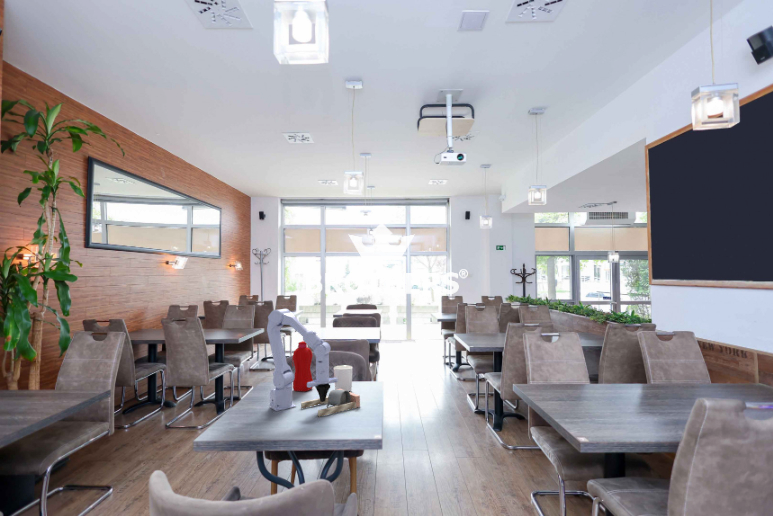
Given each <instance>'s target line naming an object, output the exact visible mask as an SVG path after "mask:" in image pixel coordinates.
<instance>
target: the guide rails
mask: <svg viewBox="0 0 773 516" xmlns="http://www.w3.org/2000/svg"><path fill="white" fill-rule="evenodd" d="M327 402H328V396H326V400H325V402H321V401H320V397H319V398H315V399H311V400H306V401H305V400H304V401H302V402H300V408H301V409H302V408H303V409H306V407H308V408H311V407H310V406H312V407H315V406H314V405H316V406H319V405H318V404H321V405H324V404H323V403H325V404H327ZM352 408H354V409H357V408H356V402H351V403H347V404H342V405H338V406H334V407H333V406H331V407H329V408H327V407H326V408H323V409H318V410H317V417H318V416H319V418H321V417H320V416H322V417H325V416H324V415H326V416H328V414H330V415H333V413H334V414H337V413H336V412H338V413H341V412H340V411H342V412H345V411H344V410H346V411H349V410H348V409H350V410H353V409H352Z"/></svg>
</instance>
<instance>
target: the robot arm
mask: <svg viewBox="0 0 773 516" xmlns="http://www.w3.org/2000/svg"><path fill="white" fill-rule="evenodd" d="M267 318H268V322H267V326H266V327H267V328H266V332H267V337H268V341H269V345H270V350H271V354H272V358H273V363H274V370H273V372H272V375H273V379H272V384H273V386H274V388H272V389H270V391H269V406H268V407H269V408H270V409H272V410H274V411H276V412H279V411H283V410H286V409H292V408H296V405H295V404H294V403H293V381H294V378H295V376H294V375H295V372H293V370H292V368H291V367H292V366H290V365H289V364H288V361H287V357H286V353H285V349H284V344H283V343H284V342H283V340H282V335H281V329H282V328H283V326H284V325H285V326H290V327H291V328H292V329H294V330H295V331H296V332H298V334H300V336H302V341H304V342H305V343H306V344H307V346H308V347H310V349H311V350H312V351H313V354H314V356H315V380H313V381H311V382H307V387H308V388H311V387H315V389H316V392H317V393H318V396H319V398H320V401H321V402H325V400H326V397H328V394H329V393H328V392H329V390H330V389H331V384H333V383H334V384H335V383H337V382H338V378H336V377H335V378H334V377H330V353H331V350H332V349H331V348H332V347H331V345H330V343H329V342H327V341H325V340H324V339H321V337H319V336H318V335H317V332H316V331H313V330H308V329H307V328H306V327H305V326H304V324H302V323H301V321H299V319H298V318H297V317H296V316H295V314H294V313H293V312H291V310H289V309H288V308H282V309H274V310H272V311H271V312H270V313H269V315H268V316H267Z"/></svg>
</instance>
